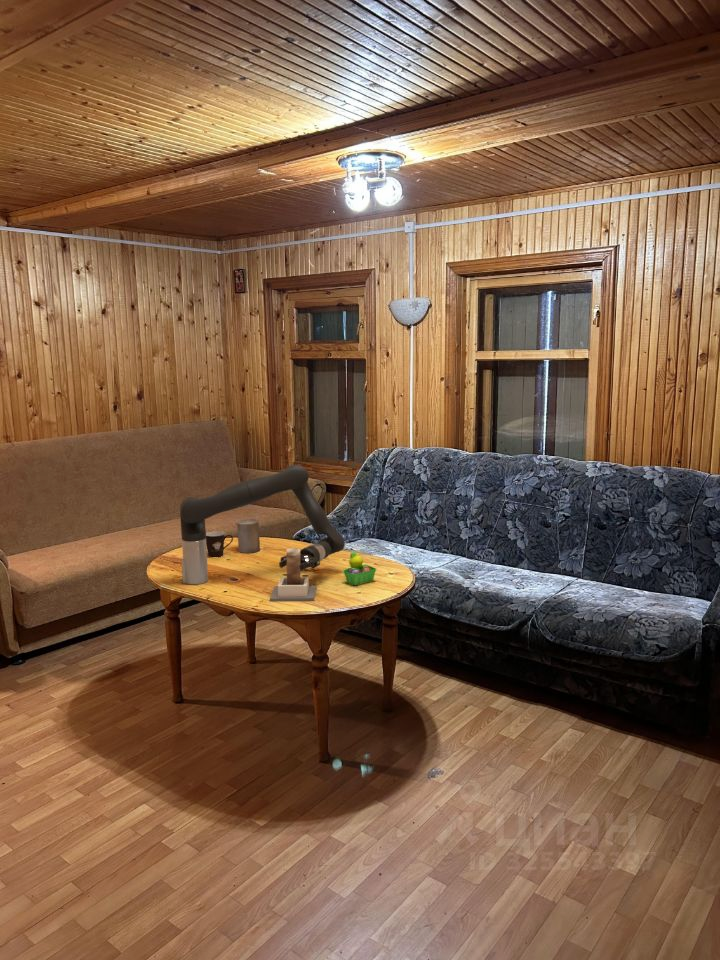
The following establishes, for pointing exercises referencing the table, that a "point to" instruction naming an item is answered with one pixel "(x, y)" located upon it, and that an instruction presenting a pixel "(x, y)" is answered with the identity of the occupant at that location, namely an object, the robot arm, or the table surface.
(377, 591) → the table surface
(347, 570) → the fruit basket
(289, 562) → the walnut post
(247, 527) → the pillar candle
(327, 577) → the table surface
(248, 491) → the robot arm
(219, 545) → the coffee mug
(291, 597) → the post well
